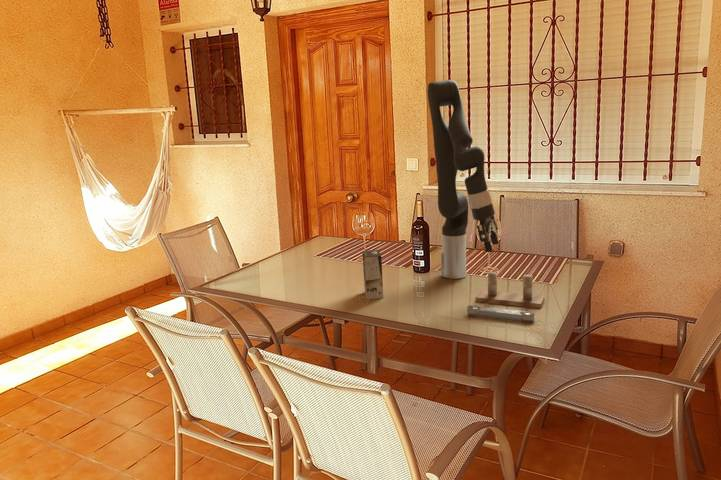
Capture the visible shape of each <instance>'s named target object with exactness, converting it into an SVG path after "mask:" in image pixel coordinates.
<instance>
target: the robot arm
mask: <svg viewBox="0 0 721 480" xmlns="http://www.w3.org/2000/svg"><path fill="white" fill-rule="evenodd" d="M460 92H461V91H460V88H459V85H458V84H457V82H456V81H455V80H454V79H445V80H437V81H431V82H429V83H428V85H427V98H428V100H427V101H428V106H429V107H428V108H429V112H430V118H431V124H432V125H431V126H432V135H433V148H434V149H433V150H434V151H433V152H434V158H435V165H436V177H437V178H436V179H437V205H438V206H437V207H438V211H439V213H440V215H441V216H442V217H443V218H445V221H444V223H443V225H442V227H441V242H442V243H441V244H442V249H441V251H442V252H441V253H440V277H441V278H442V277H443V278H446V279H451V280H457V279H464V278H465V277H467V228H468V224H469V223H468V221H469V207H470V211H471V214H472V217H473V219H474V220H475V221H479V225H476V229H477V232H478V236H479V237H478V238H479V242H480V243H483V245H484V248H485V252H486V253H490V252H493V246H492V245H494V246H495V245H499V243H500V242H499V239H498V235H497V234H498V233H497V232H498V226H497V222H496V218H495V208H494V205H493V201H492V196H491V194H490V192H489V189H488V186H487V180H486V175H485V152H484V150H483V149H482V148H481V147H480V146H479V145H475V146H472V145H473V137H472V134H471V132H470V129H469V126H468V124H467V121H466V115H465V109H464V106H463V101H462V97H461V93H460ZM447 106H452V109H453V110H452V114H451V116H450V118H449V122H448V124H447V123H446V121H445V119H444V118H443V114H442V111H441V107H447ZM471 146H472V147H471ZM474 168H476V170H475V172H474V173H472V174H470V175H469V176H467V177H466V178H465V179H464V186H465V188H466V193H467V196H468V197H466V195H465V194H464V193H462V192H459V191H457V184H456V183H457V181H456V180H457V174H458V171H459V172H465V171H468V170H472V169H474ZM467 198H468V199H467Z"/></svg>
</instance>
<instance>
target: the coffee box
mask: <svg viewBox="0 0 721 480" xmlns="http://www.w3.org/2000/svg"><path fill="white" fill-rule="evenodd" d="M382 258H383V257H382V255H381V252H380V249H369V250H368V249H367V250H363V251H362V266H363V270H362V271H363V284H364V295H365V298H366V300H378V299H383V298H384V286H383V285H384V283H383V264H382V263H383V262H382Z"/></svg>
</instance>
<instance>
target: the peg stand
mask: <svg viewBox="0 0 721 480" xmlns="http://www.w3.org/2000/svg"><path fill="white" fill-rule="evenodd" d="M487 274H488V275H487V290H485V289H484V290H483V289H480V290H479V292H478V293H477V295H476V296H475V302H477V303H488V304H495V305H496V304H498V305H508V306H517V307H524V308H525V307H527V308H535V309H542V306H543V304H544V301H545V295H538V294H533V280H534V279H533V275H531V274H524V275H523V276H522V277H523V278H522V279H523V280H522V281H523V283H522V286H523V287H522V293H516V292H508V291H507V292H505V291H504V292H503V291H498V273H497V272H496V271H489V272H487Z"/></svg>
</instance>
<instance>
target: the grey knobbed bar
mask: <svg viewBox="0 0 721 480" xmlns="http://www.w3.org/2000/svg"><path fill="white" fill-rule="evenodd" d="M466 315H467V316H468V317H470V318H480V319H481V318H482V319H490V320H499V321H501V320H502V321H508V322H509V321H510V322H518V323H522V324H532V323H534V322H535V313H534V312H533V311H531V310H516V309H507V308H497V307H488V306H480V305H473V304H472V305H468V306H467V307H466Z"/></svg>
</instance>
